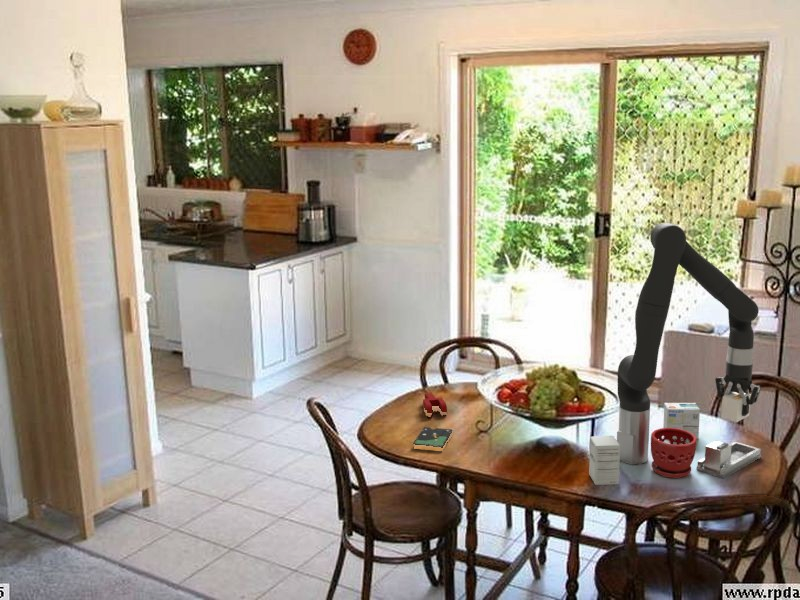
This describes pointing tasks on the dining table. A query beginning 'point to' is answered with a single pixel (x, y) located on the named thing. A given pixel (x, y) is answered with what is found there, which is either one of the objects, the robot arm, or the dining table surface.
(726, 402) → the block
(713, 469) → the din rail
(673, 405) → the light bulb box
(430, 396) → the toy lobster
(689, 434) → the plant pot
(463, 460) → the dining table surface
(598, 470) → the supplement box
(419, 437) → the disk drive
